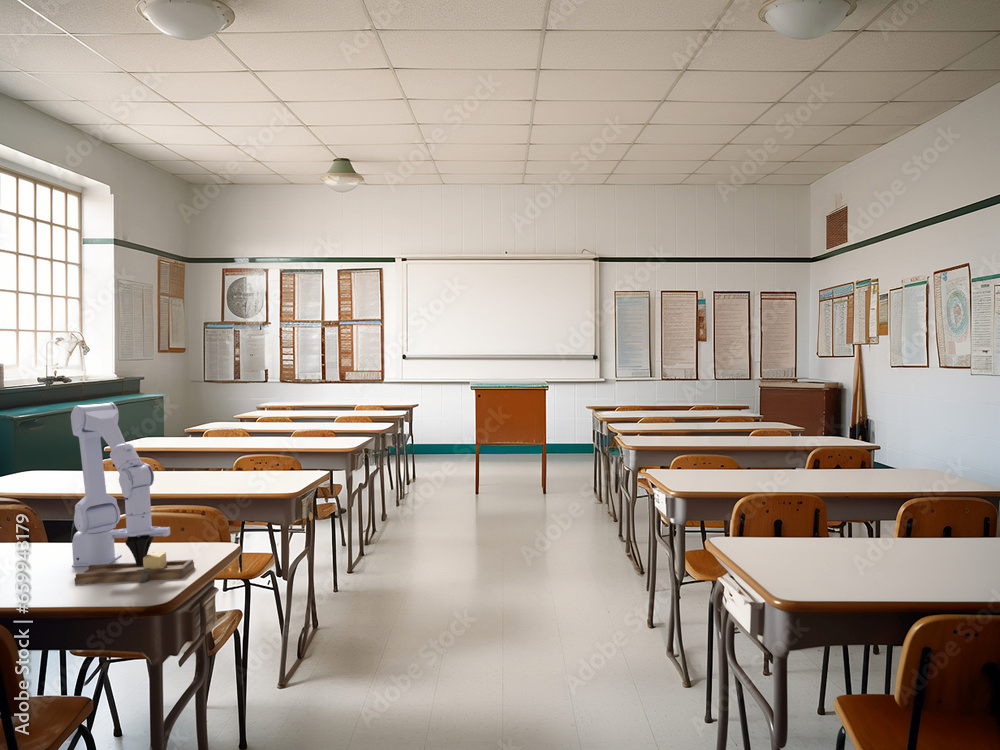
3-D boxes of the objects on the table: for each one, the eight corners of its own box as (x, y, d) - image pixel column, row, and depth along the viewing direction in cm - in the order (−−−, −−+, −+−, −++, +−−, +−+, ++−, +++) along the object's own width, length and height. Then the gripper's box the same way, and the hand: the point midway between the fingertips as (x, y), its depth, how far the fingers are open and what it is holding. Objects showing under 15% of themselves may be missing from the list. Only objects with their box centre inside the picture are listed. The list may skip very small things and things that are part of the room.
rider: (143, 571, 167) (143, 557, 167) (150, 566, 171) (150, 552, 171) (159, 570, 167) (159, 557, 167) (166, 565, 171) (165, 552, 171)
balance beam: (70, 586, 162) (70, 576, 162) (95, 570, 174) (95, 561, 173) (179, 580, 164) (178, 570, 164) (196, 565, 176) (196, 555, 176)
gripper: (100, 518, 164) (103, 571, 164) (160, 515, 165) (163, 568, 165) (114, 510, 171) (117, 562, 171) (172, 508, 172) (175, 559, 173)
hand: (141, 564), depth 169 cm, fingers closed
